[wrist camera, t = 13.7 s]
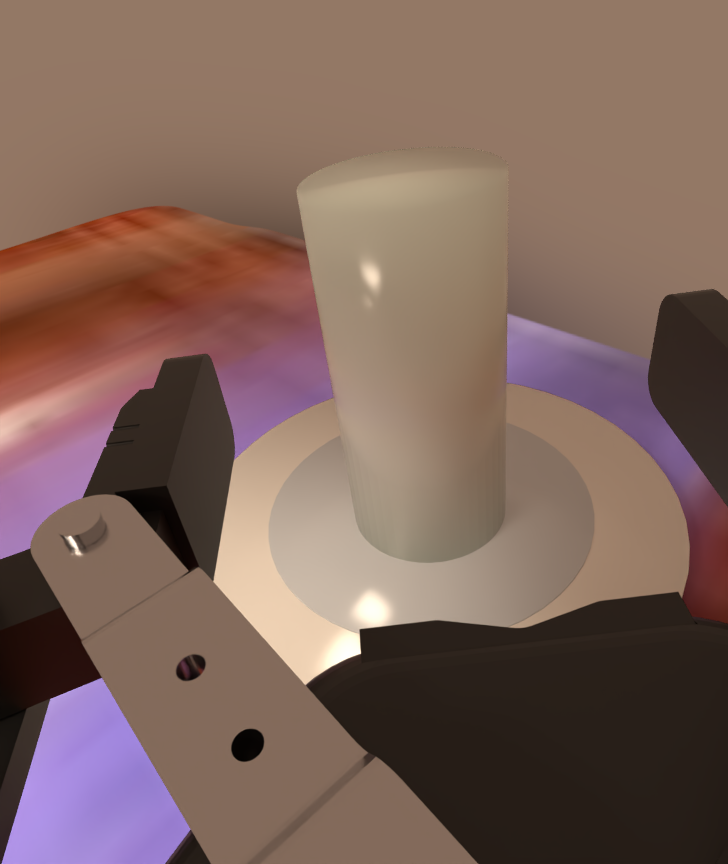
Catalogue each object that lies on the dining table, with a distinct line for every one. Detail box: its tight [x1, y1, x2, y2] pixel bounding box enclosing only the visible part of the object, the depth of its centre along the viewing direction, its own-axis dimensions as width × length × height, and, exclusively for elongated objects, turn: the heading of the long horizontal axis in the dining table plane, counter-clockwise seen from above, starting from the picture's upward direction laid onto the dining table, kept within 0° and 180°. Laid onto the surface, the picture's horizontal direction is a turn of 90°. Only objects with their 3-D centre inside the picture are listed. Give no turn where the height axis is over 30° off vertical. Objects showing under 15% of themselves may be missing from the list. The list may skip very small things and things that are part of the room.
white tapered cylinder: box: [297, 147, 508, 563], centre depth 21 cm, size 6×6×12 cm
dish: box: [213, 383, 690, 685], centre depth 25 cm, size 18×18×1 cm
